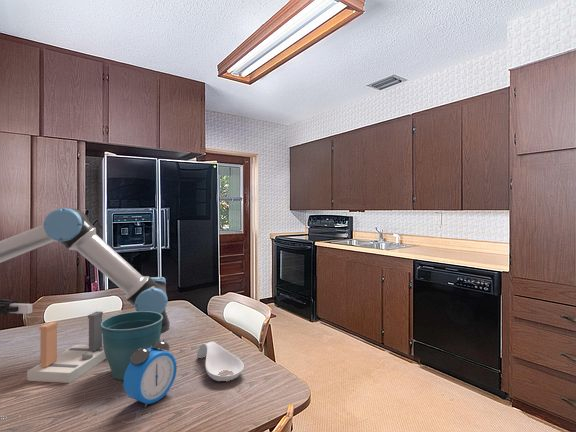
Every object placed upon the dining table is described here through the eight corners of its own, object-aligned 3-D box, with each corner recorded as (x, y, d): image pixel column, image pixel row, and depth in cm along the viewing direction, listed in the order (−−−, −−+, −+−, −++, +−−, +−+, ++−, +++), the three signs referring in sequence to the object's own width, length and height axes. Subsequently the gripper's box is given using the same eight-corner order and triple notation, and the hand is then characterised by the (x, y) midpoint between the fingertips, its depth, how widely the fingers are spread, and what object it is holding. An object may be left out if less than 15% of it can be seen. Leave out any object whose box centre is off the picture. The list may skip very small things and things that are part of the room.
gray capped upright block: (102, 346, 115) (102, 311, 115) (94, 351, 111) (94, 315, 111) (96, 346, 116) (96, 311, 116) (87, 351, 111) (87, 315, 111)
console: (111, 354, 117) (112, 342, 117) (70, 382, 97) (70, 367, 97) (75, 352, 118) (75, 340, 118) (27, 380, 98) (27, 365, 98)
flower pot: (172, 371, 104) (172, 319, 104) (111, 393, 91) (111, 333, 91) (149, 354, 117) (149, 308, 117) (93, 371, 104) (93, 319, 104)
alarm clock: (137, 415, 82) (137, 356, 82) (121, 408, 85) (122, 351, 85) (177, 390, 93) (177, 338, 93) (162, 385, 96) (162, 334, 96)
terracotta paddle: (57, 360, 104) (57, 322, 104) (46, 367, 100) (46, 326, 100) (50, 360, 104) (51, 321, 104) (39, 366, 100) (39, 326, 100)
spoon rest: (250, 379, 100) (250, 356, 100) (215, 392, 93) (215, 367, 93) (217, 353, 119) (217, 334, 119) (185, 362, 112) (186, 341, 112)
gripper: (-17, 311, 111) (47, 314, 109) (-61, 324, 98) (10, 327, 96) (-17, 289, 111) (47, 292, 109) (-61, 299, 98) (11, 302, 96)
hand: (30, 308), depth 102 cm, fingers closed
